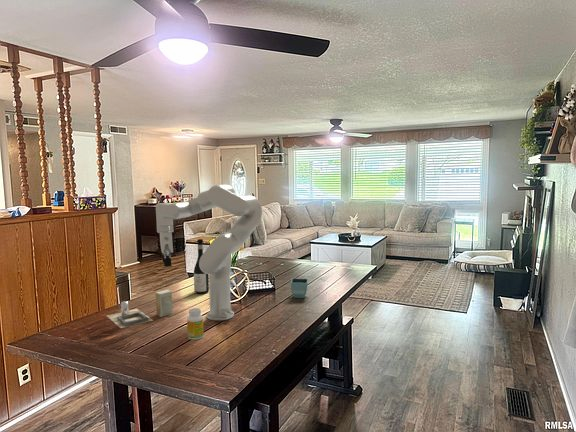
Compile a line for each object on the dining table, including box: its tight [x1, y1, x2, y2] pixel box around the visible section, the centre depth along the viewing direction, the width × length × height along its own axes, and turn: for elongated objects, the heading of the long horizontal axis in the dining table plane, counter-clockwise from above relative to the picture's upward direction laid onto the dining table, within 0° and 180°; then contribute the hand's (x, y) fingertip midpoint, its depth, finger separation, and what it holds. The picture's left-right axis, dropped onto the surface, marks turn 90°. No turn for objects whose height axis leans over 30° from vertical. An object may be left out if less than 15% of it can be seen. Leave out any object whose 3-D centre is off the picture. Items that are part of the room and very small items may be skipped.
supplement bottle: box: [186, 307, 205, 341], centre depth 161 cm, size 6×6×11 cm
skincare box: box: [155, 289, 174, 318], centre depth 184 cm, size 6×4×12 cm
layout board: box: [106, 308, 153, 329], centre depth 180 cm, size 20×14×3 cm
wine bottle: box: [193, 238, 210, 295], centre depth 222 cm, size 8×8×30 cm
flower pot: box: [290, 278, 309, 299], centre depth 213 cm, size 9×9×9 cm
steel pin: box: [120, 300, 130, 316], centre depth 184 cm, size 3×3×6 cm
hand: (166, 264), depth 191 cm, fingers open, 9 cm apart
